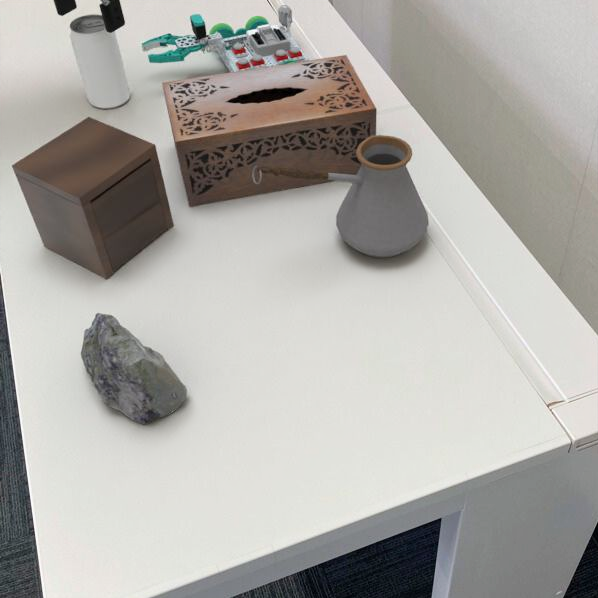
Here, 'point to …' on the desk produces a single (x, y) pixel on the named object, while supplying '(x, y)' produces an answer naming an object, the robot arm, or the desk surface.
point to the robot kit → (234, 43)
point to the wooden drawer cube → (95, 195)
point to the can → (99, 62)
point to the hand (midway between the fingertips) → (91, 20)
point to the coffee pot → (374, 198)
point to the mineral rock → (129, 372)
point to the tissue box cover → (267, 126)
